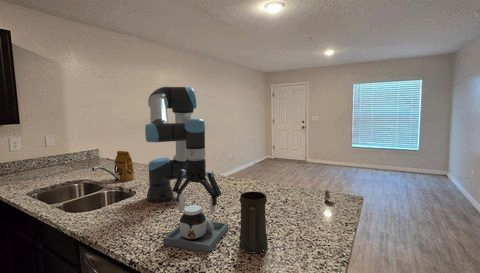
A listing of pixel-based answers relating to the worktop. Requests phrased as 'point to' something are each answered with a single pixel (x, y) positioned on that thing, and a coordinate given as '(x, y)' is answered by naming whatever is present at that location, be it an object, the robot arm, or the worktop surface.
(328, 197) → the architectural model
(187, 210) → the spread jar
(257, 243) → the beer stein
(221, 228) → the tray
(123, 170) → the coffee package
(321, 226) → the worktop surface
